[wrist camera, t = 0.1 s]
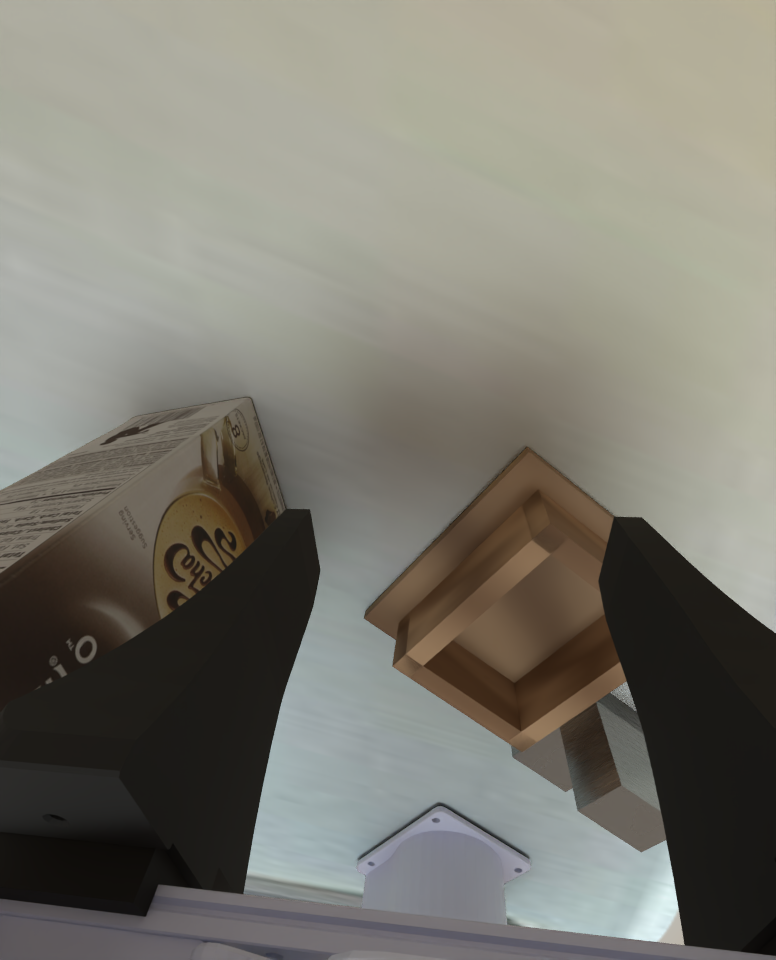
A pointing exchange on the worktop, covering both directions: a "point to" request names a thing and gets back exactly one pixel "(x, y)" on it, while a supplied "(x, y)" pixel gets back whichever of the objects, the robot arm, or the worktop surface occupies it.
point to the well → (510, 607)
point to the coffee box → (125, 535)
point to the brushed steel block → (604, 770)
